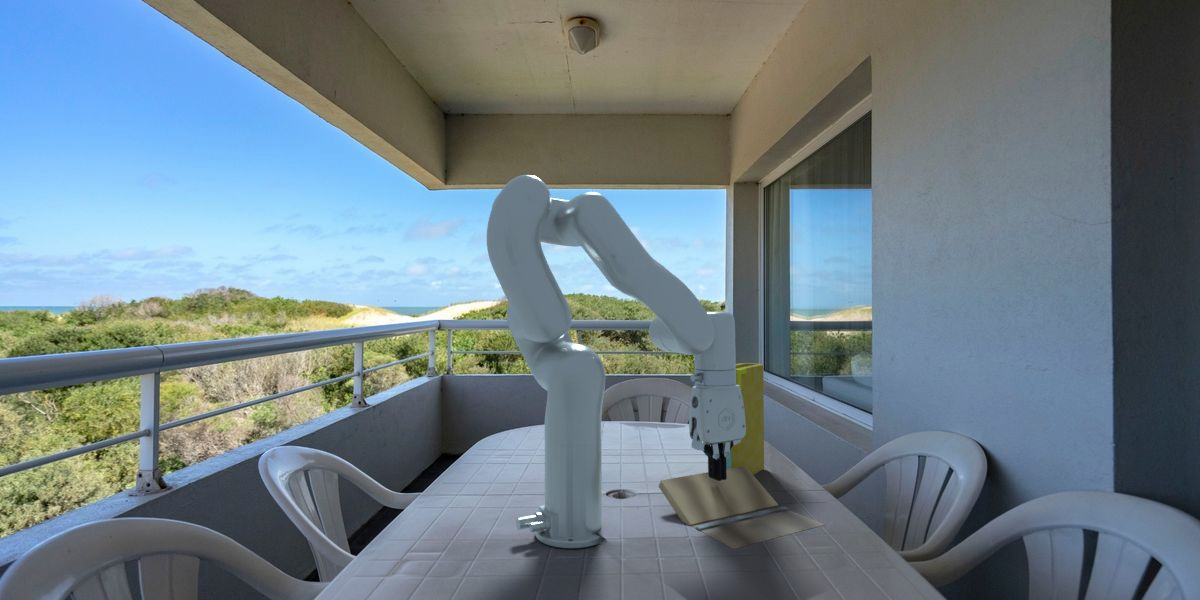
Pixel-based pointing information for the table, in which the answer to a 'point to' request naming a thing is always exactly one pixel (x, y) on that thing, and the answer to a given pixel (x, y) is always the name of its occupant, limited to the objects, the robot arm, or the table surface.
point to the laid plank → (757, 526)
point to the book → (750, 419)
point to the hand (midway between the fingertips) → (717, 478)
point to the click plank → (715, 495)
